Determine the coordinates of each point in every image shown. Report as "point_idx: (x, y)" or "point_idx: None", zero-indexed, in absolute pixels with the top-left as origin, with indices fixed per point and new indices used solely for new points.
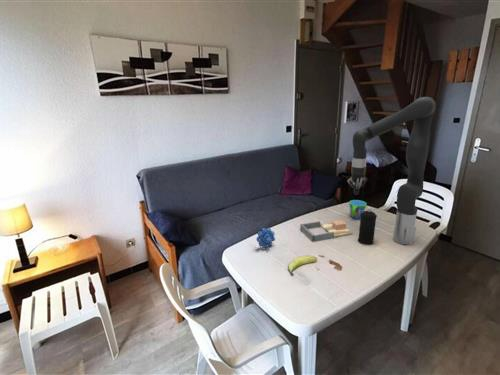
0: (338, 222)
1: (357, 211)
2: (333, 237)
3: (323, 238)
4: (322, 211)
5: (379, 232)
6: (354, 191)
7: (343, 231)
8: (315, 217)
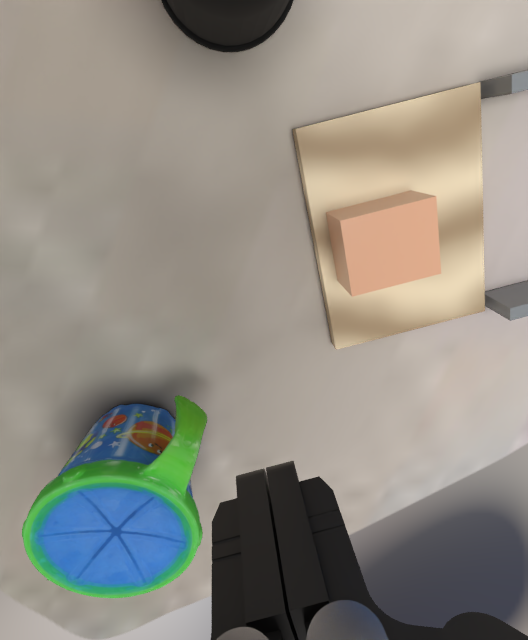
0: (397, 251)
1: (144, 439)
2: (482, 81)
3: None
4: (352, 520)
5: (30, 142)
6: (346, 535)
7: (365, 163)
8: (440, 438)
